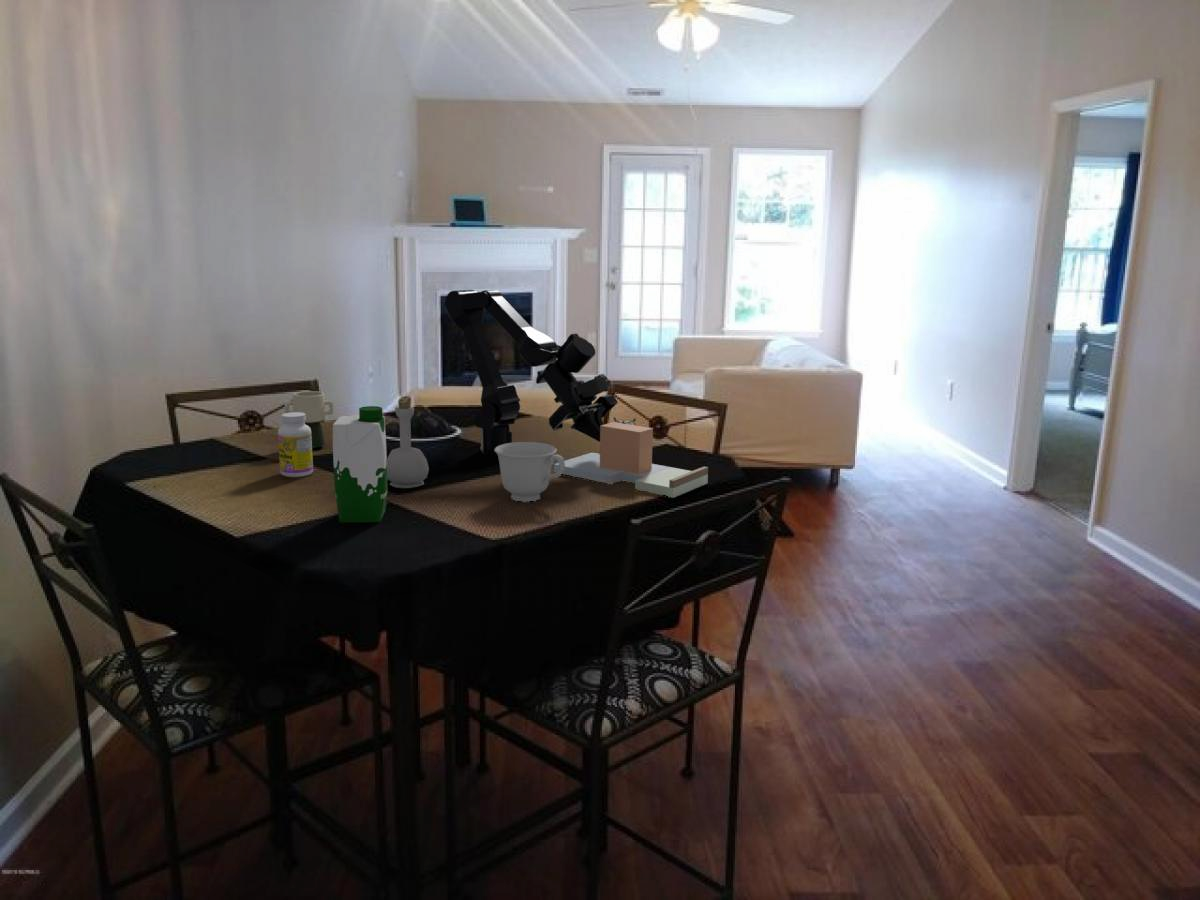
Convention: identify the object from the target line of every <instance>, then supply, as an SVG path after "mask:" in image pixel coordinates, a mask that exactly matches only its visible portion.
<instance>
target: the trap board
mask: <svg viewBox="0 0 1200 900" xmlns="http://www.w3.org/2000/svg"><path fill="white" fill-rule="evenodd" d="M564 462H565V469H564V472H563V473H562V474H567V475H572V476H577V477H582V478H587V479H592V480H596V481H601V482H606V483H614V482H616V481H619V480H626V481H630V482H635V484H634V487H635V489H639V490H644V491H648V492H653V493H658V494H664V495H666V496H668V497H667V498H673V499H674V498H676V497H679V496H682V495H683V494H686V493H688V492H691V491H693V490H696V489H698V488H700V487H703V486H705V485H707V484H708V481H709V480H708V479H709V466H702V467H698V468H697V469H694V470H688V469H684V468H683V469H682V468H677V467H671V466H667V465H660V464H655V463H652V470H650V471H647V472H644V473H641V474H634V473H629V472H624V471H619V470H614V469H608V468H603V467H600V453H596V452H590V453H586V454H583V455H579V456H576V457H573V458H570V459H567V460H564ZM558 470H559V463H558V462H557V463H554V464H553V473H554V472H557V471H558ZM635 489H634V490H635ZM666 496H665V497H666Z"/></svg>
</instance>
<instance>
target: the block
mask: <svg viewBox="0 0 1200 900" xmlns="http://www.w3.org/2000/svg"><path fill="white" fill-rule="evenodd" d="M635 425H636V424H635ZM635 425H629V424H623V423H617V422H615V421H612V422H608V423H605V424H603V425H601V426H600V442H599V454H600V467H603V468H608V469H614V470H619V471H624V472H629V473H634V474H641V473H644V472H647V471H650V470H652V464H653V444H654V443H653V439H654V437H653V436H654V428H653V427H647V426H640V425H636V426H635Z"/></svg>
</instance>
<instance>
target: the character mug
mask: <svg viewBox="0 0 1200 900" xmlns="http://www.w3.org/2000/svg"><path fill="white" fill-rule="evenodd" d="M325 397H326V396H325V393H324V392H322V391H317V390H315V391H314V390H307V391H305V390H304V391H298V392H294V393H292V400H290V401H289V400H286V401H285V402H284V414H285V413H291V412H301V413H305V416H306V420H305V425H308V426H309V427H310V429H311V437H312V449H315V448H317V447H318V448H320V447H322V446H324V445H326V442H325V436H324V435H325V434H324V431H323V425H322V424H321V422H323V421H324V420H325V418H326V415H333V414H334V412H335V410H334V409H335V408H334V401H333V400H325V399H326V398H325ZM326 405H328V408H329V409H328V410H326ZM290 406H292V407H293V409H292V410H290Z"/></svg>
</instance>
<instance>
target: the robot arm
mask: <svg viewBox="0 0 1200 900" xmlns="http://www.w3.org/2000/svg"><path fill="white" fill-rule="evenodd" d="M444 307H445V310H446V312H447V314H448V316H449V318H450V320H451V321H452V323H454V324H455V325H456V327H458V328H459V329H460V330H461V331H462V334H463V337H464V340H465V342H466V345H467V348H468V350H469V351H468V352H469V354H470V356H471V359H472V361H473V364H474V368H475V370H476V372H477V373H476V374H477V375H478V379H479V381H480V384H481V386H482V390H481V395H480V402H481V407H482V408H481V410H480V411H479V412H478V413H477V414H476V415H475V416H474V417H473V421H474V424H475V427H476V428H479V429H481V430H480V435H481V436H480V437H481V438H480V439H481V441H480V442H481V445H480V447H479V448H480V451H481V453H482V454H483V455H496V454H497V453H496V452H495V448H496V447H497V446H499V445H502V444H507V443H513V432H512V431H511V429H510V425H515V423H516V419H517V416H518V415H519V412H520V410H521V404H520V402H521V399H520V397H519V395H518V393H517V388H516V387H515V385H514V384H511V385H510V384H507V383H506V382H505V381H504V380H503V377H502V375H501V372H500V369H499V367H498V363H497V361H496V358H495V355H494V353H493V349H492V347H491V344H490V341H489V338H488V336H487V334H486V331H485V329H484V325H483V321H484V314H485V313H484V312H485V310H486V312H487V313H488V314H489V315H490V316H491V317H492V318H493V319H494V320H495V322H496V323H497V324H498V325H499V326H501V328H502V329H503V330H504V331H505V332H506V333H507V334H508V335H509V336H510V337H511V339H512V340H514V342H515V344H516V346H517V349H518V350H517V351H518V354H519V355H520V356H521V358H522V359H523V360H524V362H525V363H526V365H528V366H529V367H531V368H534V367H536V368H537V367H541V366H546V367H545V368H544V369H543V370H538V371H537V375H536V380H535V383H536V384H543V383H546V384H547V386H548V387H549V388H550V389H551V391H552V392H553V394H554V395H555V396H556V397H555V398H554V399H553V401H554V402H555V403H556V404H558V403H561V404H560V406H558V408H557V409H556V410H554V412H553V413H552V414H551V415H550V416H549V417H548V425H549V426H550V428H551V429H552V430H553V431H559V430H561V429H563V427H564V424H563V422H564V421H567V420H571V419H572V422H573V424H572V425H571V426H570V429H571V430H575V431H578V432H580V433H581V434H584V435H586V436H588V437H590V438H591V439H593V440H595V441H597V442H599V443H600V426H601V425H604V422H603V418H604V417H605V416H607V415H608V414H609V412H611V410H612V409H614V408H615V406H616V405H617V404H618V403H619V401H618V400H617V398H616V397H615V395H614V394H606V395H605V394H604V395H602V396H601V395H600V396H599V397H597V395H599V394H602V393H607V392H608V391H610V389H609V388H610V385H611V380H610V379H609V378H608V377H607V376H606V375H605V374H604V373H601V374H598V375H595V376H594V377H593V378H592V379H589V380H587V381H584V380H578V379H577V378H576V377H575V376H574V374H578V373H580V372H581V371H582V370H583V369H584V367H586V365H587V364H588V363H589V362H590V361H591V359H593V358H594V357H595V355H596V349H595V347H594V345H593V344H592V343H591V342H589V341H588V340H587V339H585V338H584V337H581V336H580V335H579V334H578V333H571V334H570V335H569V336H568V337H567V338H566V340H565V341H564V342H563V344H561V345H559V344H557V343H556V341H554V340H553V339H552V338H551V337H549V336H548V335H546V334H545V333H543V332H541V331H539V330H536V329H534V328H533V327H532V325H530V324H529V323H528V322H527V321H526V320H525V319H524V318H523V317H522V316H521V314H520V313H519V312H518V311H516V309H515V308H514V307H513V306H512V305H511V304H510V303H509V302H508V301H507V300H506V299H505V298H504V297H503V294H502V292H501V291H499V290H497V289H489V290H488V289H487V290H481V291H476V290H474V289H461V290H451V291H449V292H448V293H447V295H446V297H445V300H444ZM573 373H574V374H573ZM592 402H593V403H592ZM497 455H498V454H497Z"/></svg>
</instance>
